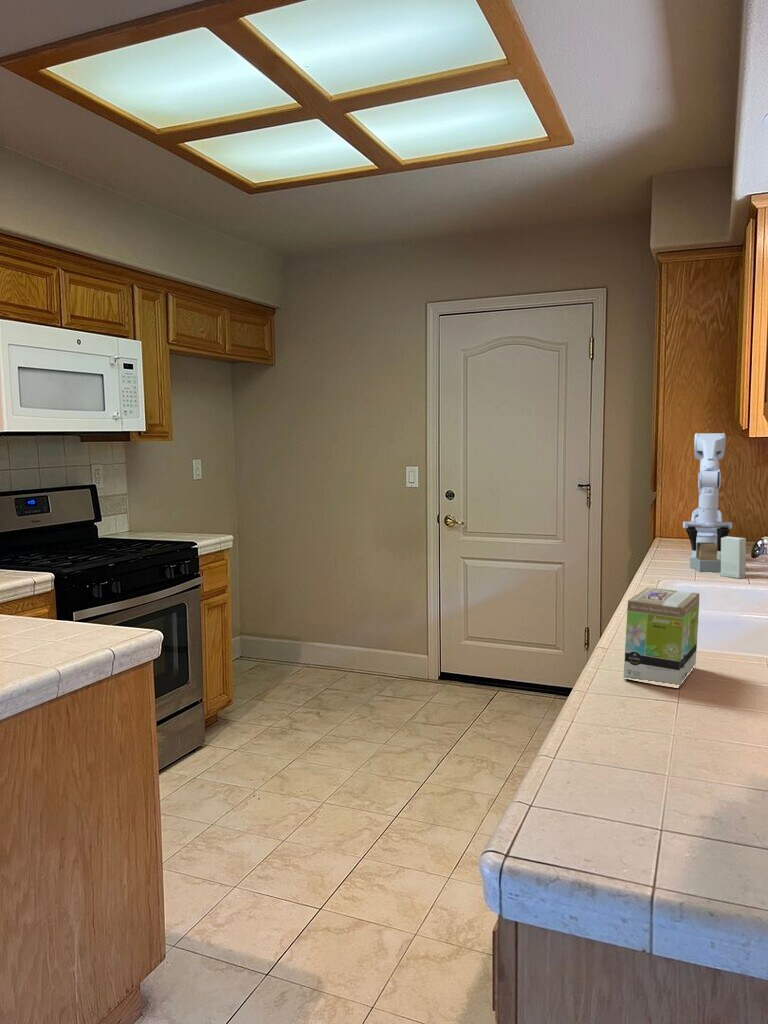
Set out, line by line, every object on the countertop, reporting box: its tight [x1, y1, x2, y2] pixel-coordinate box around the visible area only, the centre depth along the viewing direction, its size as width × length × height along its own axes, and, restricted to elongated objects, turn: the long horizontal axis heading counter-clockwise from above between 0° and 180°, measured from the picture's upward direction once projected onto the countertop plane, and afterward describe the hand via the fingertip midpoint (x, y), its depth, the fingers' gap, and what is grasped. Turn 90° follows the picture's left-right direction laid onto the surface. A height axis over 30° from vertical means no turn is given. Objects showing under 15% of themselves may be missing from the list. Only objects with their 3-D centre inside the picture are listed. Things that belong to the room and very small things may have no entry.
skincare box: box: [720, 535, 747, 579], centre depth 231 cm, size 6×4×12 cm
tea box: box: [623, 587, 700, 685], centre depth 138 cm, size 15×10×15 cm, turn 148°
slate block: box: [689, 556, 721, 573], centre depth 242 cm, size 7×7×4 cm
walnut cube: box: [696, 542, 718, 561], centre depth 242 cm, size 5×5×5 cm
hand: (706, 550), depth 242 cm, fingers open, 7 cm apart
